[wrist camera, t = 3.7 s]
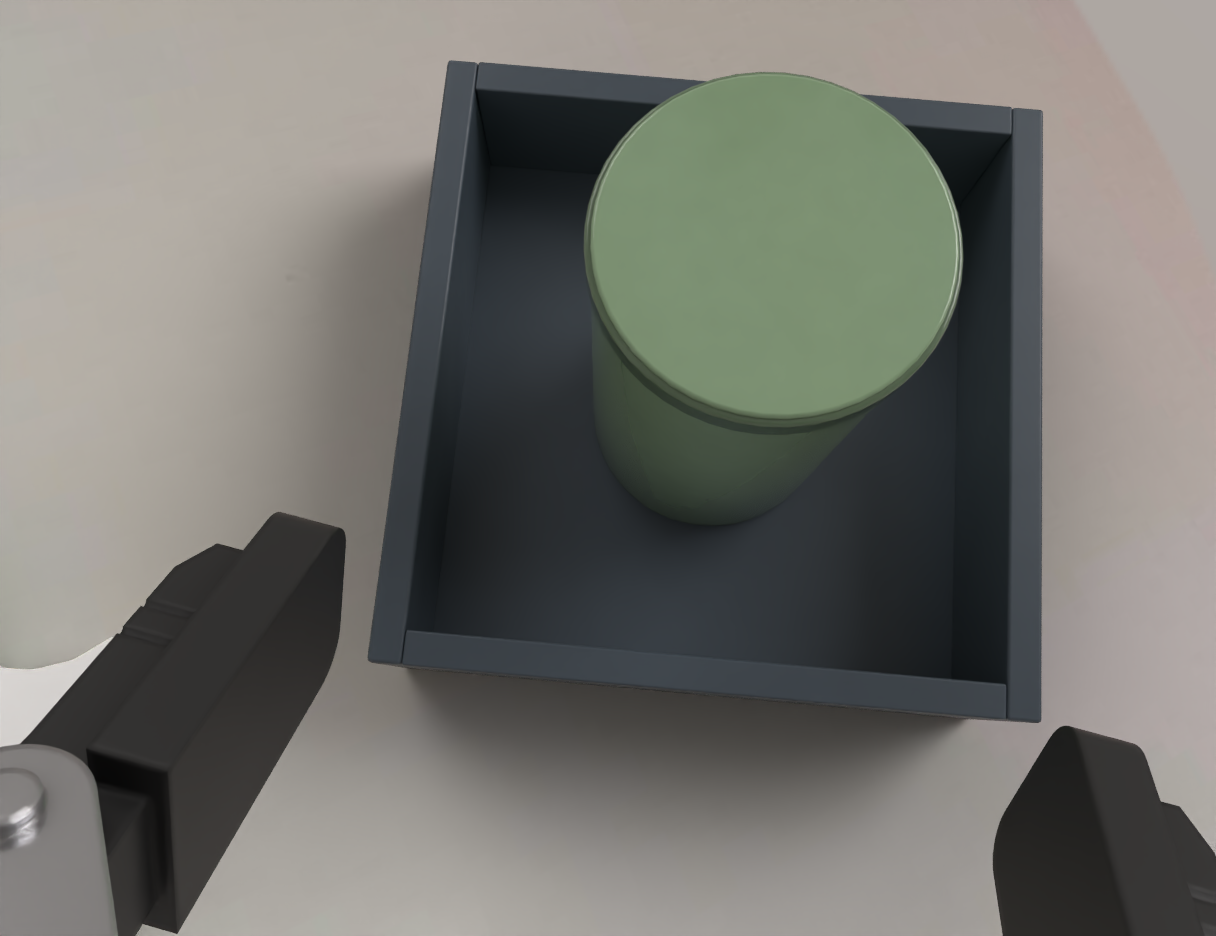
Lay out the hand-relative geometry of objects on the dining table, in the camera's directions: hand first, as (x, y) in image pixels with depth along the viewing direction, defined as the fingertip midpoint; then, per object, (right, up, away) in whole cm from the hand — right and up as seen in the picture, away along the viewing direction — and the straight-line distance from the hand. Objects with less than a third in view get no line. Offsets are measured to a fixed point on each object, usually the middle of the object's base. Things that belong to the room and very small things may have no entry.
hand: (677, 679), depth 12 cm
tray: (+2, +4, +15) cm, 15 cm away
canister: (+2, +4, +14) cm, 15 cm away
